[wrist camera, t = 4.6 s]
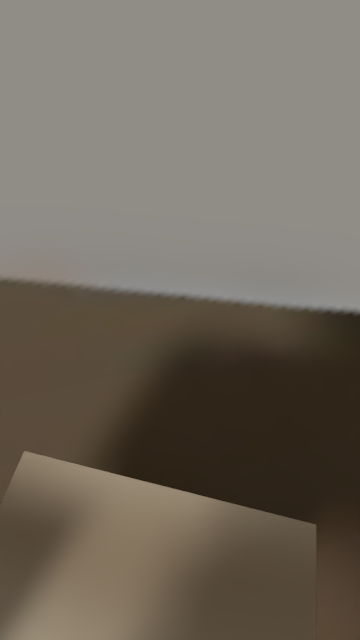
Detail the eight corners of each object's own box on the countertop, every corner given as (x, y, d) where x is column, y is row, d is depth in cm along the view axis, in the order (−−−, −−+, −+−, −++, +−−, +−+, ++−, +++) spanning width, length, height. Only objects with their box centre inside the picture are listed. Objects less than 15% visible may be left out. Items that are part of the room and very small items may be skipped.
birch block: (191, 716, 11) (320, 1209, 3) (37, 672, 12) (-233, 1023, 3) (216, 530, 14) (316, 524, 6) (92, 498, 15) (24, 450, 6)
